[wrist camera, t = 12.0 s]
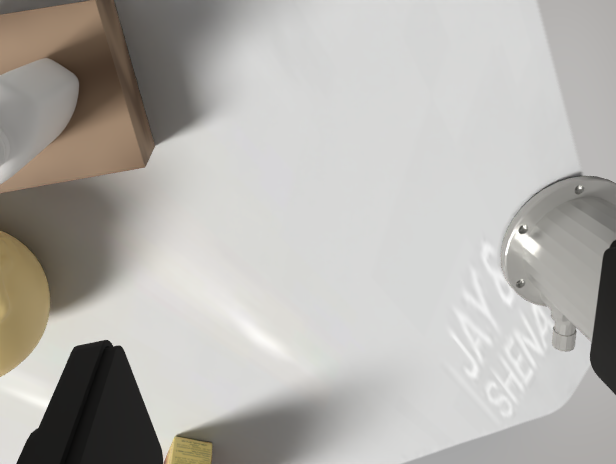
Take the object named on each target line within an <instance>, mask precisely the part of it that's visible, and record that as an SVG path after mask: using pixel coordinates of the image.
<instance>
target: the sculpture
mask: <svg viewBox="0 0 616 464" xmlns="http://www.w3.org/2000/svg"><path fill="white" fill-rule="evenodd" d="M49 311H50V292H49V286H48V282H47V278H46V276H45V273H44V271H43V269H42V267H41V265H40V263H39V262H38V260H37V259H36V257H35V256H34V255H33V253H32V252H31V251H30V250H29V249H28V248H27V247H26V246H25V245H24V244H23V243H21V242H20V241H19V240H17V239H16V238H14V237H13V236H11V235H9V234H7V233H5V232H3V231H0V377H1V376H3V375H5V374H6V373H8V372H9V371H11V370H12V369H14V368H15V367H16V366H18V365H19V364H20V363H21V362H22V361H24V360H25V359H26V358H27V357H28V356H29V354H30V353H31V352H32V351H33V350H34V348H35V347H36V346H37V344H38V343H39V341H40V339H41V337H42V335H43V333H44V331H45V328H46V325H47V322H48V317H49Z"/></svg>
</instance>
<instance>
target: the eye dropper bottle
mask: <svg viewBox="0 0 616 464" xmlns="http://www.w3.org/2000/svg"><path fill="white" fill-rule="evenodd" d="M78 93H79V81H78V78H77V77H76V76H75V75H74V73H72V72H71V71H69V70H68V69H66V68H65V67H63V66H61V65H60V64H58V63H57V62H55V61H53V60H51V59H48V58H43V59H39V60H37V61H34V62H32V63H29V64H26V65H24V66H21V67H19V68H16V69H14V70H11V71H9V72H6V73H4V74H2V75H0V184H2V183H3V182H5V181H7V180H8V179H9V178H11V177H12V176H13V175H14V174H16V173H17V172H18V171H19V170H20V169H22V168H23V167H24V166H25V165H26V164H27V163H29V162H30V161H31V160H32V159H33V158H34V157H35V156H37V155H38V154H39V153H40V152H41V151H42V150H43V149H45V148H46V147H47V146H48V145H49V144H50V143H51V142H53V141H54V140H55V139H56V138H57V137H58V136H59V135H60V134H61V132H62V131H63V130H64V129H65V127H66V126H67V124H68V123H69V121H70V119H71V117H72V115H73V113H74V110H75V107H76V104H77V99H78Z"/></svg>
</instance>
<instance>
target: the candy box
mask: <svg viewBox="0 0 616 464" xmlns="http://www.w3.org/2000/svg"><path fill="white" fill-rule="evenodd" d="M211 462H212V443H210V442H204V441H198V440H193V439H188V438H183V437H177V436H175V437H174V439H173V442H172V444H171V447H170V449H169V451H168V454H167V456H166V459H165V461H164V463H163V464H211Z"/></svg>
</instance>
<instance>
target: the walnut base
mask: <svg viewBox="0 0 616 464" xmlns="http://www.w3.org/2000/svg"><path fill="white" fill-rule="evenodd" d="M43 58H48V59H51V60H53V61H55V62H57V63H58V64H60V65H61V66H63V67H65V68H66V69H68V70H69V71H71V72H72V73H74V75H75V76H76V77H77V78H78V81H79V93H78V99H77V104H76V107H75V110H74V113H73V115H72V117H71V119H70V121H69V123H68V124H67V126H66V127H65V129H64V130H63V131H62V132H61V134H60V135H59V136H58V137H57V138H56V139H55V140H54V141H53V142H51V143H50V144H49V145H48V146H47V147H46V148H45V149H43V150H42V151H41V152H40V153H39V154H38V155H37V156H35V157H34V158H33V159H32V160H31V161H30V162H29V163H27V164H26V165H25V166H24V167H23V168H22V169H20V170H19V171H18V172H17V173H16V174H14V175H13V176H12V177H11V178H9V179H8V180H7V181H5V182H3V183H2V184H0V193H4V192H10V191H16V190H21V189H27V188H32V187H38V186H44V185H49V184H55V183H60V182H66V181H72V180H77V179H83V178H88V177H94V176H100V175H105V174H111V173H116V172H122V171H128V170H133V169H139V168H145V166H146V164H147V162H148V160H149V158H150V156H151V154H152V151H153V149H154V147H155V144H154V140H153V137H152V133H151V130H150V126H149V123H148V119H147V116H146V112H145V109H144V105H143V102H142V98H141V95H140V91H139V88H138V84H137V81H136V77H135V73H134V70H133V66H132V63H131V59H130V56H129V52H128V49H127V45H126V42H125V38H124V35H123V31H122V28H121V24H120V21H119V17H118V14H117V10H116V6H115V3H114V0H90V1H84V2H77V3H71V4H65V5H58V6H52V7H46V8H39V9H33V10H27V11H20V12H14V13H8V14H1V15H0V75H2V74H4V73H6V72H9V71H11V70H14V69H16V68H19V67H21V66H24V65H26V64H29V63H32V62H34V61H37V60H39V59H43Z"/></svg>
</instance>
